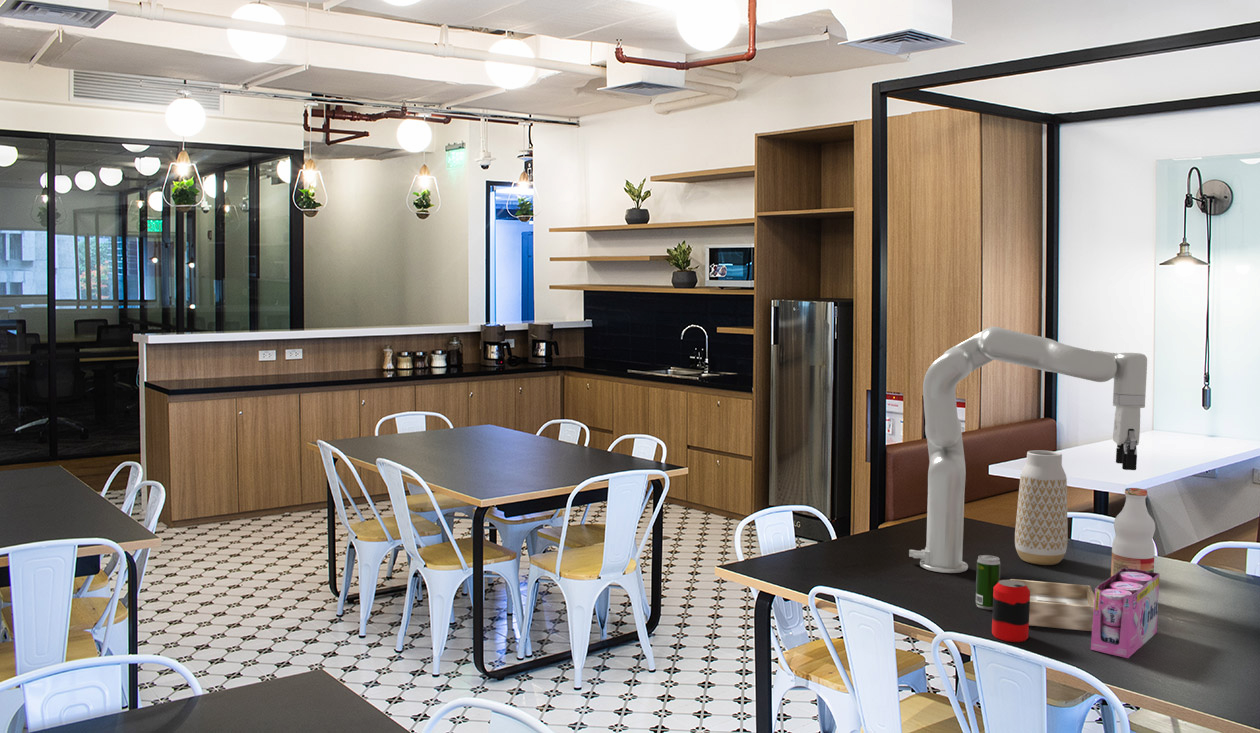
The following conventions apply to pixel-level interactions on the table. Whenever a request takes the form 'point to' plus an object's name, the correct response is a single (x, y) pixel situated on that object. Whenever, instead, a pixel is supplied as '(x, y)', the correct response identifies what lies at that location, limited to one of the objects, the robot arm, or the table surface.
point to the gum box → (1125, 612)
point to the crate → (1060, 605)
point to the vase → (1042, 509)
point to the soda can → (1011, 611)
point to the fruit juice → (1133, 534)
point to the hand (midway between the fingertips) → (1125, 466)
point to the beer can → (986, 580)
